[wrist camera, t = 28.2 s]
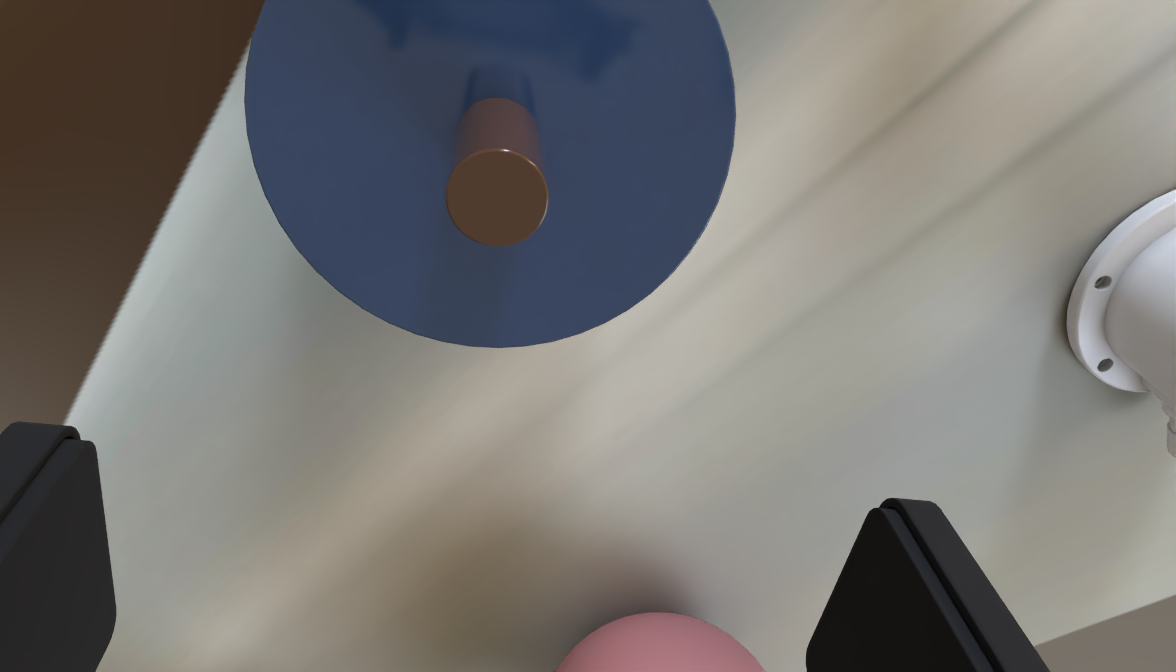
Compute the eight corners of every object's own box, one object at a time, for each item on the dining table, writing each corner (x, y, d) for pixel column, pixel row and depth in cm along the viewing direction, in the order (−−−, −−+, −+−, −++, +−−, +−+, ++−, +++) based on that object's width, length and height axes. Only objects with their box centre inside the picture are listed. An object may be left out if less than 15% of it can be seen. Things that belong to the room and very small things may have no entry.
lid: (772, 248, 29) (834, 337, 24) (389, 384, 30) (366, 497, 25) (649, -228, 22) (697, -254, 16) (152, -21, 23) (48, 17, 18)
